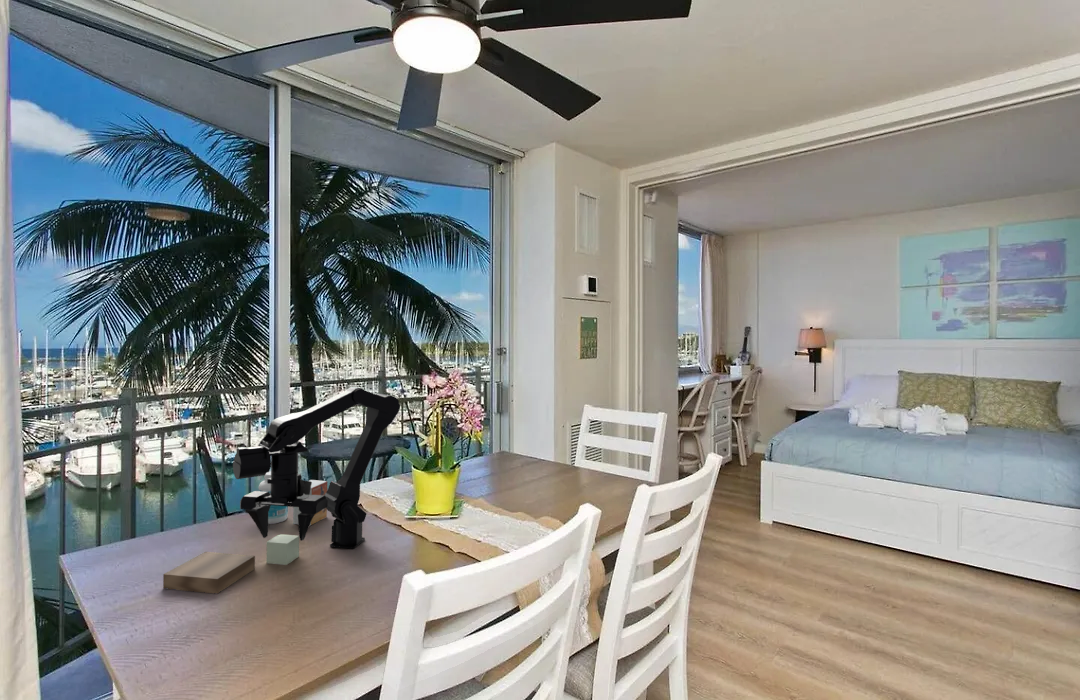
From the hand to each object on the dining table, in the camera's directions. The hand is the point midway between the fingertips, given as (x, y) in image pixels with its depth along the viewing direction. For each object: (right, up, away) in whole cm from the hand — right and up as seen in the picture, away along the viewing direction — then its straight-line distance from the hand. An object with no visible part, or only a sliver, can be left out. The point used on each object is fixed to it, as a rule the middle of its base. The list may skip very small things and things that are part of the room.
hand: (283, 538), depth 130 cm
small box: (-5, -4, +27) cm, 28 cm away
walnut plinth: (-11, -5, -11) cm, 16 cm away
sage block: (0, -5, 0) cm, 5 cm away
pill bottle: (-15, -4, +26) cm, 30 cm away
